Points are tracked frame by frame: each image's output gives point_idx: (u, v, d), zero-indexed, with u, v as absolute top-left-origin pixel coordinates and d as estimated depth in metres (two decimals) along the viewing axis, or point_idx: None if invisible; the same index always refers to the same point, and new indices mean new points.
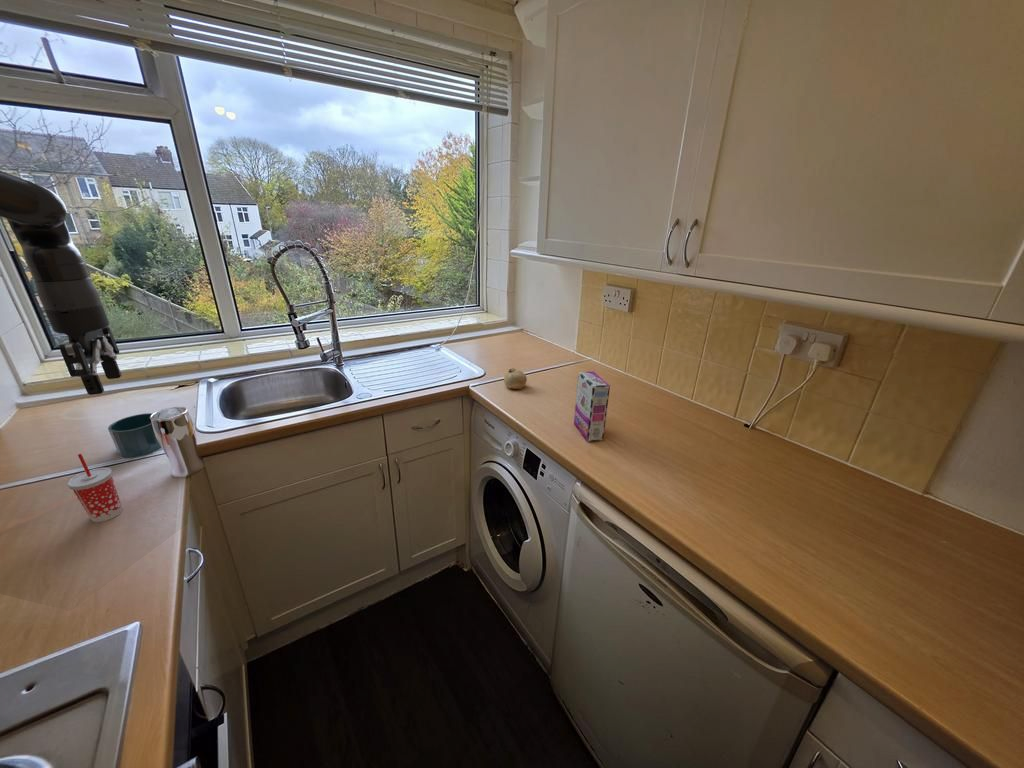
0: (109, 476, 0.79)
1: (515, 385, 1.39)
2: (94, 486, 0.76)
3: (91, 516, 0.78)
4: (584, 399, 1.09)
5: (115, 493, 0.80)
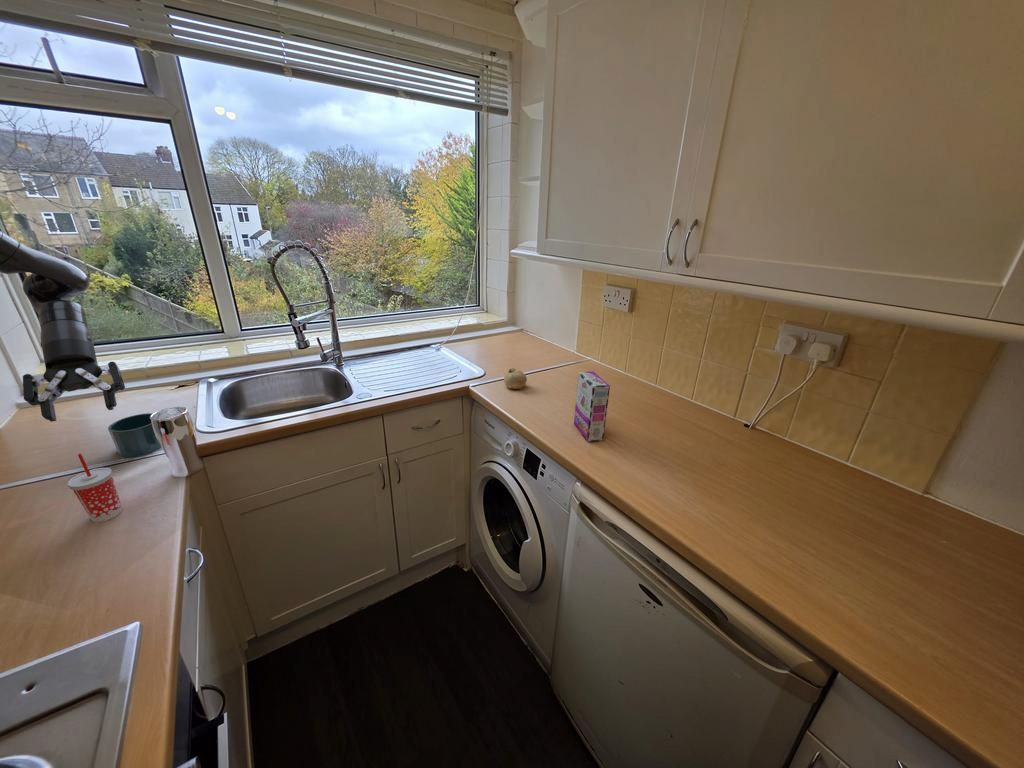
0: (109, 476, 0.79)
1: (515, 385, 1.39)
2: (94, 486, 0.76)
3: (91, 516, 0.78)
4: (584, 399, 1.09)
5: (115, 493, 0.80)
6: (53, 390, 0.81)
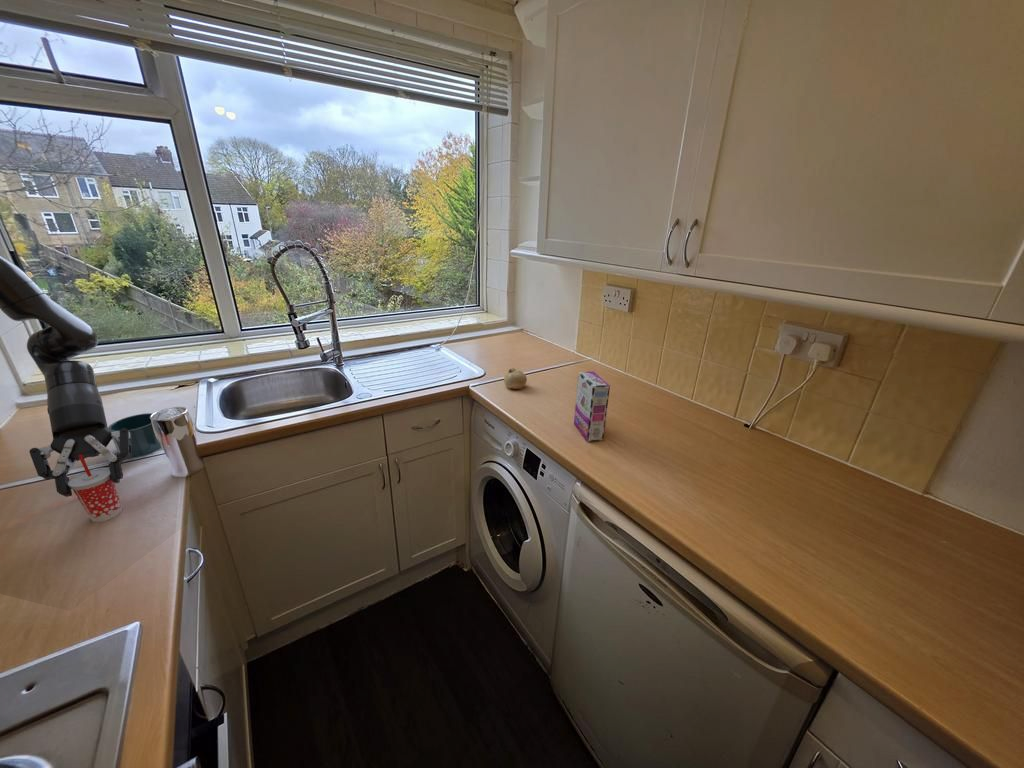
0: (109, 476, 0.79)
1: (515, 385, 1.39)
2: (94, 486, 0.76)
3: (91, 516, 0.78)
4: (584, 399, 1.09)
5: (115, 493, 0.80)
6: (66, 462, 0.76)
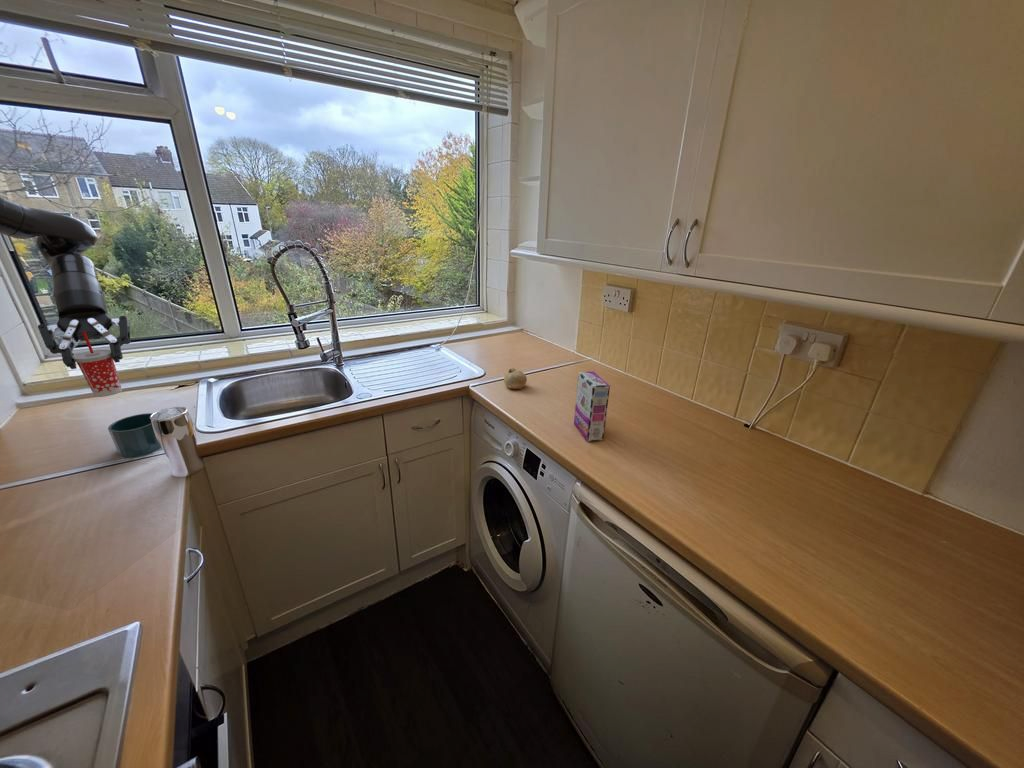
0: (110, 354, 0.87)
1: (515, 385, 1.39)
2: (96, 361, 0.85)
3: (94, 390, 0.87)
4: (584, 399, 1.09)
5: (115, 372, 0.89)
6: (71, 338, 0.84)
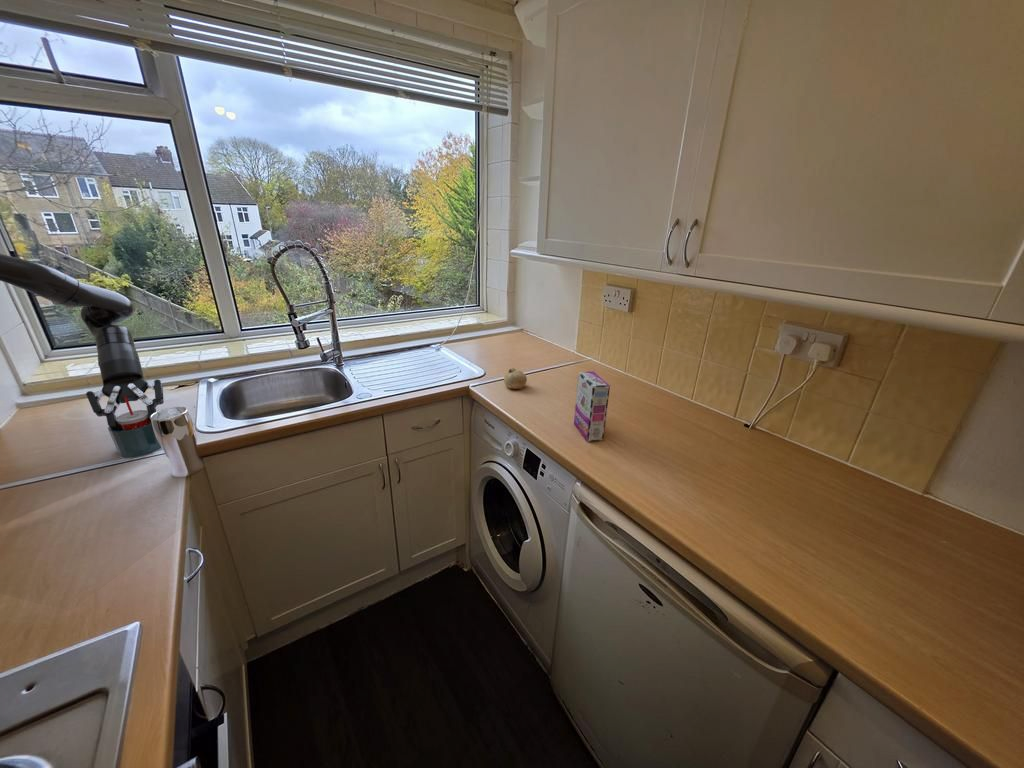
0: (147, 415, 0.99)
1: (515, 385, 1.39)
2: (136, 422, 0.97)
3: None
4: (584, 399, 1.09)
5: None
6: (114, 403, 0.97)
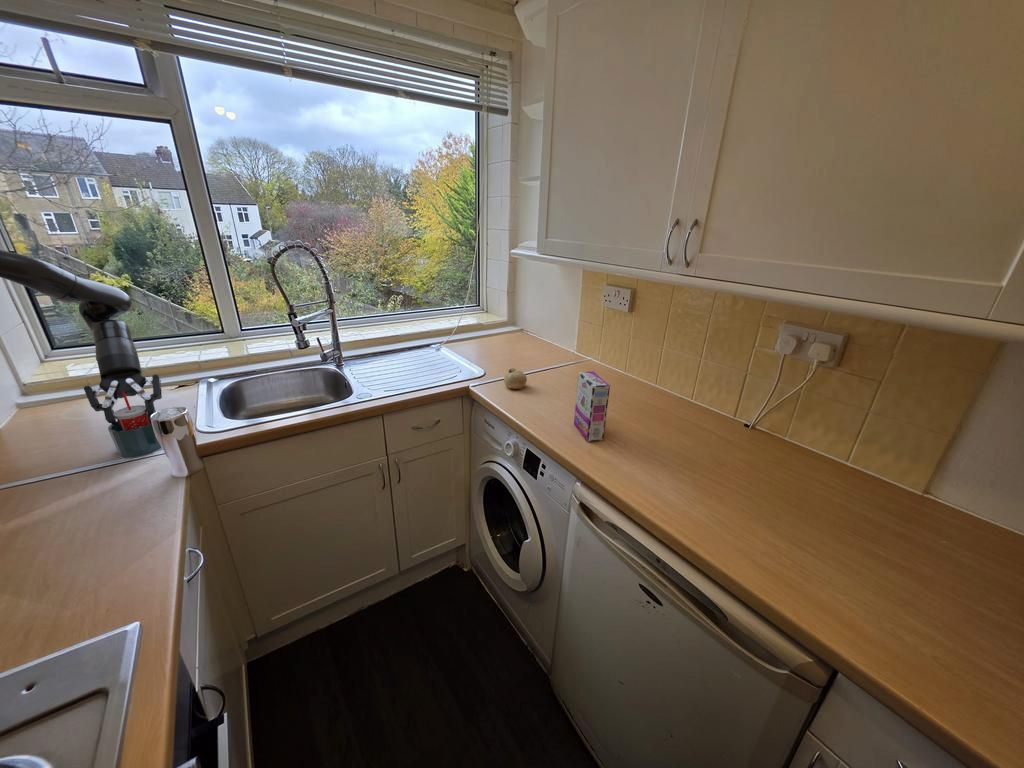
0: (145, 410, 0.99)
1: (515, 385, 1.39)
2: (134, 417, 0.97)
3: None
4: (584, 399, 1.09)
5: None
6: (112, 397, 0.96)
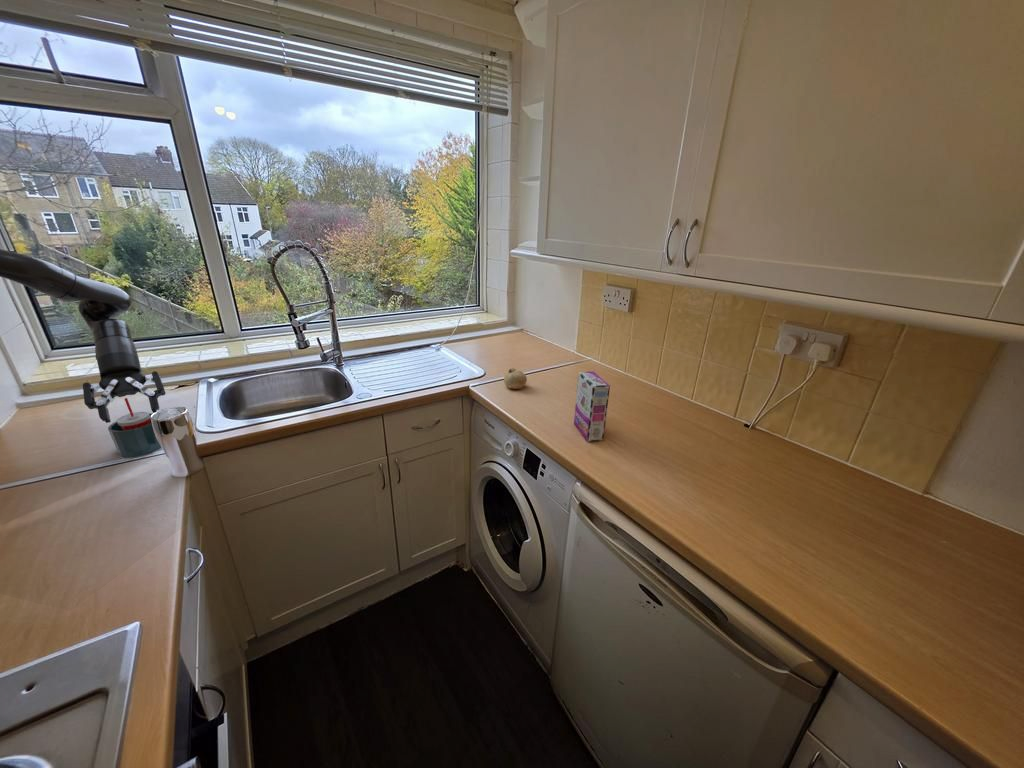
0: (148, 417, 1.00)
1: (515, 385, 1.39)
2: (137, 424, 0.97)
3: None
4: (584, 399, 1.09)
5: None
6: (108, 396, 0.96)
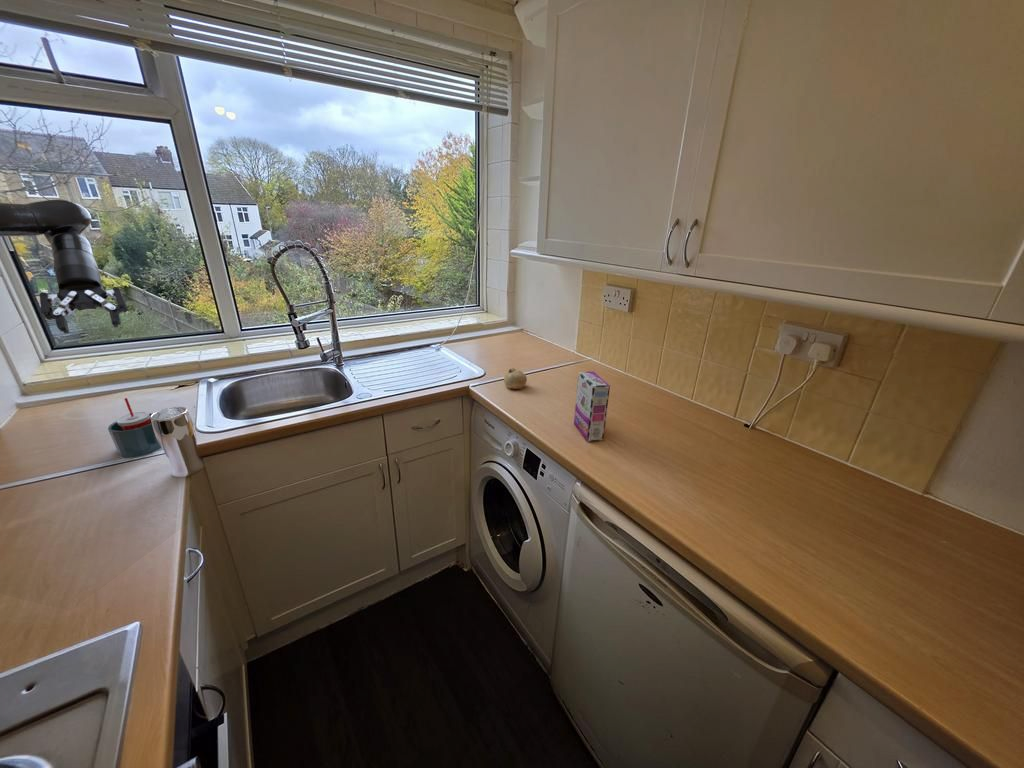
0: (148, 417, 1.00)
1: (515, 385, 1.39)
2: (137, 424, 0.97)
3: None
4: (584, 399, 1.09)
5: None
6: (66, 306, 0.94)
